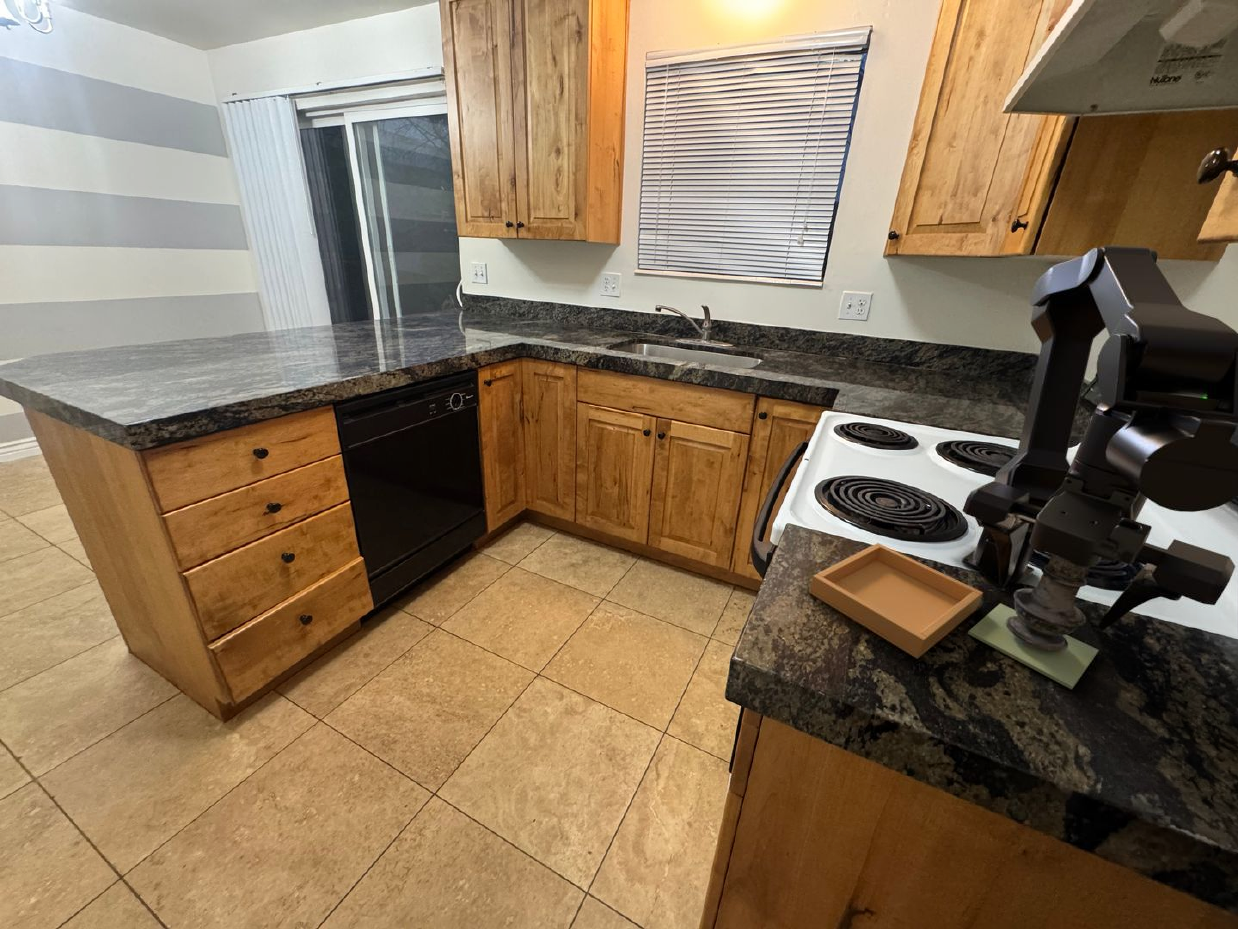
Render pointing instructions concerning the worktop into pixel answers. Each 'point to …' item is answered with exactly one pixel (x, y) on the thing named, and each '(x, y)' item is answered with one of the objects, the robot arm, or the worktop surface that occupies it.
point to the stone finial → (1049, 606)
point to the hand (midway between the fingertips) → (1048, 605)
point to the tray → (896, 597)
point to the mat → (1034, 649)
